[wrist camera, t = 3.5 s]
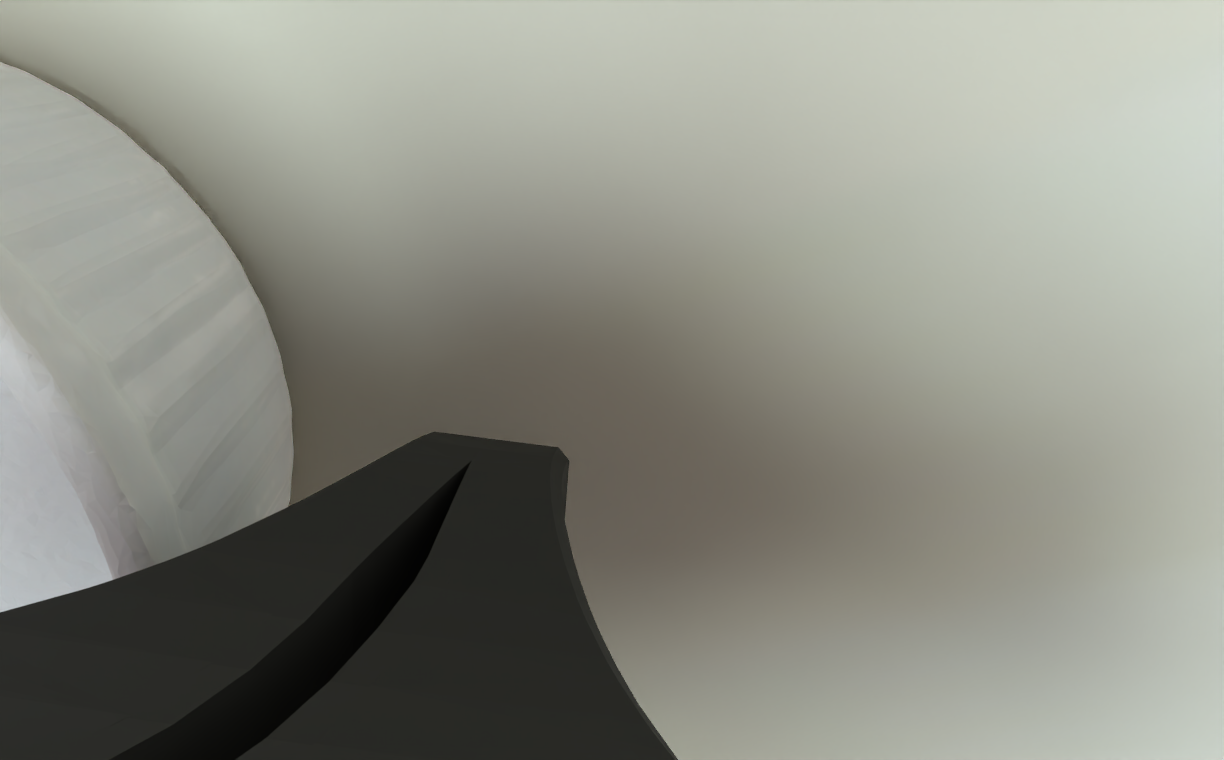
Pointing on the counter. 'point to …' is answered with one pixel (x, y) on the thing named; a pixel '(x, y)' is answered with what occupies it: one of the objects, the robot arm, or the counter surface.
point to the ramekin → (121, 359)
